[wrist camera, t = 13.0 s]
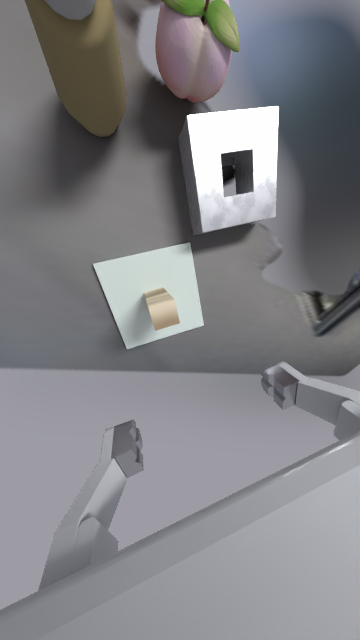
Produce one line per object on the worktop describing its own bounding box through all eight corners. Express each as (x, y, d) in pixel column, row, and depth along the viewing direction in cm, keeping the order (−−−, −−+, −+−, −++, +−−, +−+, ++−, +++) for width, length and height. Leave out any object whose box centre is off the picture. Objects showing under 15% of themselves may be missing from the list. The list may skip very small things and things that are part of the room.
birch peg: (143, 292, 33) (147, 306, 24) (163, 287, 34) (174, 299, 25) (149, 311, 35) (155, 330, 26) (167, 305, 35) (180, 323, 26)
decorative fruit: (215, 52, 24) (264, -67, 15) (209, 128, 27) (246, 65, 18) (149, 26, 22) (161, -134, 13) (150, 112, 25) (160, 30, 16)
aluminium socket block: (178, 138, 27) (187, 115, 22) (255, 129, 29) (278, 106, 24) (193, 235, 32) (202, 232, 28) (256, 221, 34) (275, 216, 30)
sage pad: (93, 263, 30) (92, 264, 29) (189, 242, 33) (190, 242, 32) (127, 348, 37) (126, 349, 36) (202, 324, 40) (203, 325, 39)
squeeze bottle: (109, 58, 22) (42, -498, 6) (137, 138, 25) (144, -69, 9) (49, 75, 21) (-225, -506, 5) (86, 155, 25) (-5, -36, 8)
